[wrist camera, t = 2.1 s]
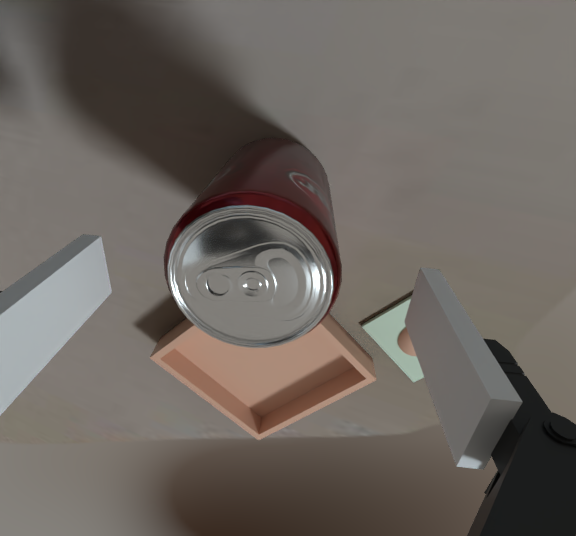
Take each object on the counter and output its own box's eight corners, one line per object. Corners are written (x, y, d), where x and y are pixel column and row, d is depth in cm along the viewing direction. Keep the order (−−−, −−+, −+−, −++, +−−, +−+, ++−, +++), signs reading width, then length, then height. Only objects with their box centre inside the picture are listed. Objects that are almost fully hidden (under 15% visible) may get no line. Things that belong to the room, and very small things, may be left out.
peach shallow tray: (160, 337, 32) (149, 357, 29) (271, 253, 27) (268, 270, 25) (261, 417, 36) (258, 440, 34) (372, 358, 31) (376, 379, 29)
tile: (361, 324, 30) (362, 327, 29) (426, 286, 28) (428, 289, 27) (412, 379, 32) (413, 383, 32) (475, 349, 30) (477, 352, 30)
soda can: (333, 137, 23) (353, 200, 12) (324, 242, 26) (334, 359, 16) (219, 133, 23) (142, 191, 12) (226, 237, 26) (171, 350, 16)
